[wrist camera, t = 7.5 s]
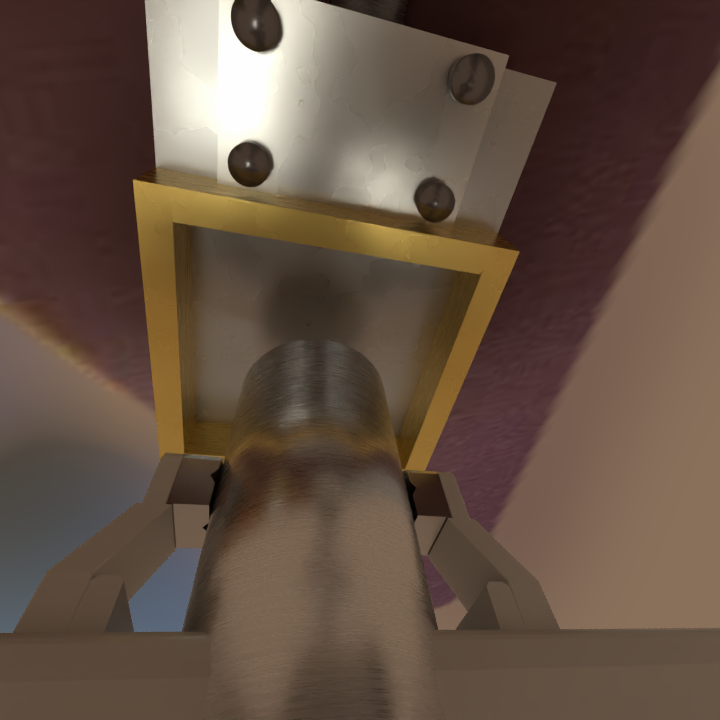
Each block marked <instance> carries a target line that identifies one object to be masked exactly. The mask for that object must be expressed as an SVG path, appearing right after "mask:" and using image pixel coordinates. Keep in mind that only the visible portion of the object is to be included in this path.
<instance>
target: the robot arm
mask: <svg viewBox="0 0 720 720" xmlns="http://www.w3.org/2000/svg"><path fill="white" fill-rule="evenodd" d="M222 466H223V458H222V457H212V456H202V455H191V454H178V453H167V452H165V454H164V455H163V456H162V458H161V460H160V462H159V465H158V467H157V470H156V472H155V475H154V477H153V479H152V481H151V484H150V486H149V489H148V491H147V493H146V496H145V498H144V501H143V503H136V504H134V505H133V506H132V507H130V508H129V509H128V510H127V511H126V512H124V513H123V514H121V515H120V516H119V517H117V518H116V519H115V520H114V521H112V522H111V523H110V524H108V525H107V526H106V527H104V528H103V529H102V530H100V531H99V532H98V533H97V534H95V535H94V536H93V537H91V538H90V539H89V540H87V541H86V542H85V543H84V544H82V545H81V546H80V547H78V548H77V549H76V550H74V551H73V552H72V553H70V554H69V555H68V556H67V557H65V558H64V559H63V560H61V561H60V562H59V563H58V564H56V565H55V566H54V567H52V568H51V569H50V570H48V571H47V572H46V575H45V576H44V578H43V580H42V581H41V583H40V585H39V587H38V588H37V590H36V592H35V594H34V596H33V597H32V599H31V601H30V603H29V605H28V606H27V608H26V610H25V612H24V613H23V615H22V617H21V619H20V621H19V623H18V624H17V626H16V628H15V630H14V631H13V633H0V720H202V718H203V713H204V708H205V703H206V698H207V693H208V688H209V682H210V677H211V670H210V658H211V639H210V636H209V635H208V634H207V633H205V632H134V629H133V624H132V619H131V614H130V609H129V604H128V601H129V600H130V599H131V598H132V597H133V595H134V594H135V593H136V592H137V591H138V590H139V589H140V588H141V587H142V586H143V585H144V583H145V582H146V581H147V580H148V579H149V578H150V577H151V576H152V575H153V574H154V572H156V570H157V569H158V568H159V567H160V566H161V565H162V564H163V562H165V561H166V559H167V558H168V557H169V556H170V555H171V554H172V553H173V552H174V551H175V548H202V547H203V543H204V539H205V535H206V531H207V527H208V523H209V519H210V515H211V511H212V507H213V503H214V499H215V494H216V490H217V486H218V482H219V478H220V474H221V470H222ZM403 475H404V480H405V484H406V489H407V493H408V498H409V502H410V507H411V511H412V515H413V520H414V524H415V529H416V533H417V538H418V542H419V547H420V551H421V555H429V556H428V558H429V559H430V561H431V562H432V563H433V565H434V566H435V567H436V569H437V570H438V572H439V573H440V574H441V576H442V577H443V578H444V580H445V581H446V582H447V584H448V585H449V587H450V588H451V589H452V591H453V592H454V593H455V595H456V596H457V598H458V599H459V600H460V602H461V603H462V604H463V606H464V607H465V608H466V610H467V611H468V612H467V614H466V615H465V617H464V618H463V619H462V621H461V622H460V624H459V625H458V627H457V628H456V630H433V631H432V634H431V642H432V649H433V658H434V670H435V675H436V680H437V685H438V689H439V694H440V699H441V703H442V708H443V713H444V717H445V720H720V628H672V629H671V628H670V629H668V628H667V629H666V628H664V629H663V628H660V629H560V628H559V626H558V624H557V621H556V619H555V618H554V615H553V613H552V610H551V608H550V606H549V604H548V601H547V599H546V597H545V595H544V592H543V590H542V588H541V586H540V583H539V581H538V580H537V579H536V578H534V576H533V575H532V574H531V573H530V572H528V571H527V570H526V569H525V568H524V567H523V566H522V565H521V564H520V563H519V562H518V561H517V560H516V559H515V558H514V557H513V556H512V555H511V554H510V553H509V552H508V551H507V550H506V549H505V548H504V547H503V546H502V545H500V543H498V542H497V541H496V540H495V539H494V538H493V537H492V536H491V535H490V534H489V533H488V532H487V531H486V530H485V529H484V528H483V527H482V526H481V525H480V524H479V523H478V522H477V521H476V520H475V519H470V518H469V515H468V512H467V510H466V507H465V504H464V501H463V499H462V496H461V493H460V490H459V488H458V485H457V482H456V479H455V477H454V475H453V474H452V473H447V472H434V471H417V470H404V471H403Z"/></svg>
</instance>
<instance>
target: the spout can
mask: <svg viewBox="0 0 720 720" xmlns="http://www.w3.org/2000/svg"><path fill="white" fill-rule="evenodd" d="M433 630H438V627H437V623H436V618H435V614H434V609H433V604H432V600H431V596H430V591H429V587H428V582H427V578H426V573H425V569H424V564H423V560H422V556H421V551H420V547H419V542H418V538H417V533H416V529H415V524H414V520H413V515H412V511H411V507H410V502H409V498H408V493H407V489H406V484H405V480H404V475H403V471H402V466H401V462H400V458H399V453H398V449H397V444H396V440H395V435H394V431H393V426H392V422H391V417H390V413H389V409H388V404H387V400H386V395H385V391H384V386H383V383H382V379H381V377H380V375H379V373H378V371H377V369H376V368H375V366H374V365H373V364H372V363H371V362H370V361H369V360H368V359H367V358H366V357H365V356H364V355H362V354H361V353H360V352H358V351H356V350H355V349H353V348H351V347H349V346H346V345H344V344H341V343H338V342H334V341H328V340H320V339H305V340H298V341H293V342H289V343H286V344H283V345H280V346H278V347H275V348H274V349H272V350H270V351H268V352H267V353H265V354H264V355H263V356H261V357H260V358H259V359H258V360H257V361H256V362H255V363H254V364H253V365H252V367H251V368H250V369H249V371H248V372H247V374H246V376H245V379H244V382H243V385H242V389H241V393H240V397H239V401H238V405H237V409H236V413H235V417H234V421H233V425H232V429H231V433H230V437H229V441H228V445H227V450H226V454H225V458H224V462H223V466H222V470H221V474H220V478H219V482H218V486H217V490H216V494H215V499H214V503H213V507H212V511H211V515H210V519H209V523H208V527H207V531H206V535H205V539H204V543H203V547H202V551H201V555H200V559H199V563H198V567H197V572H196V575H195V580H194V584H193V588H192V592H191V596H190V600H189V604H188V608H187V612H186V616H185V620H184V624H183V628H182V632H205V633H207V634H208V635H209V636H210V639H211V658H210V670H211V677H210V682H209V688H208V693H207V698H206V703H205V708H204V713H203V718H202V720H445V717H444V713H443V708H442V703H441V699H440V694H439V689H438V685H437V680H436V675H435V670H434V658H433V649H432V642H431V634H432V631H433Z"/></svg>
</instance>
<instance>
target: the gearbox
mask: <svg viewBox="0 0 720 720" xmlns="http://www.w3.org/2000/svg"><path fill="white" fill-rule="evenodd" d="M408 1H409V0H330V4H326V3H323V2H319V1H316V0H145V9H146V24H147V39H148V54H149V68H150V83H151V98H152V113H153V128H154V143H155V158H156V167H155V168H154V169H152V170H150V171H148V172H146V173H144V174H142V175H141V176H139V177H137V178H135V179H133V187H134V197H135V207H136V217H137V227H138V238H139V248H140V258H141V268H142V278H143V289H144V299H145V309H146V319H147V329H148V339H149V350H150V360H151V370H152V380H153V390H154V401H155V411H156V421H157V431H158V441H159V451H160V460H161V458H162V456H163V455H164V454H165V452H167V453H178V454H191V455H202V456H212V457H222V458H223V462H224V458H225V454H226V450H227V445H228V441H229V437H230V433H231V429H232V425H233V421H234V417H235V413H236V409H237V405H238V401H239V397H240V393H241V389H242V385H243V382H244V379H245V376H246V374H247V372H248V371H249V369H250V368H251V367H252V365H253V364H254V363H255V362H256V361H257V360H258V359H259V358H260V357H261V356H263V355H264V354H265V353H267V352H268V351H270V350H272V349H274V348H275V347H278V346H280V345H283V344H286V343H289V342H293V341H298V340H305V339H320V340H328V341H334V342H338V343H341V344H344V345H346V346H349V347H351V348H353V349H355V350H356V351H358V352H360V353H361V354H362V355H364V356H365V357H366V358H367V359H368V360H369V361H370V362H371V363H372V364H373V365H374V366H375V368H376V369H377V371H378V373H379V375H380V377H381V379H382V383H383V386H384V391H385V395H386V400H387V404H388V409H389V413H390V417H391V422H392V426H393V431H394V435H395V440H396V444H397V449H398V453H399V458H400V462H401V466H402V471H404V470H417V471H425V469H426V467H427V465H428V462H429V460H430V458H431V455H432V453H433V451H434V448H435V446H436V444H437V442H438V439H439V437H440V435H441V432H442V430H443V428H444V425H445V423H446V421H447V418H448V416H449V414H450V412H451V409H452V407H453V405H454V402H455V400H456V398H457V395H458V393H459V391H460V388H461V386H462V384H463V382H464V379H465V377H466V375H467V372H468V370H469V368H470V365H471V363H472V361H473V358H474V356H475V354H476V351H477V349H478V347H479V345H480V342H481V340H482V338H483V335H484V333H485V331H486V328H487V326H488V324H489V321H490V319H491V317H492V315H493V312H494V310H495V308H496V305H497V303H498V301H499V298H500V296H501V294H502V291H503V289H504V287H505V285H506V282H507V280H508V278H509V275H510V273H511V271H512V268H513V266H514V264H515V261H516V259H517V257H518V255H519V252H520V251H519V250H517V249H516V248H515V247H514V246H513V245H512V244H510V243H509V242H508V241H507V240H506V239H504V238H503V237H502V236H501V235H500V234H498V232H499V229H500V226H501V224H502V221H503V219H504V216H505V214H506V211H507V209H508V206H509V203H510V201H511V198H512V196H513V193H514V191H515V188H516V186H517V183H518V181H519V178H520V175H521V173H522V170H523V168H524V165H525V163H526V160H527V158H528V155H529V153H530V150H531V147H532V145H533V142H534V140H535V137H536V135H537V132H538V130H539V127H540V124H541V122H542V119H543V117H544V114H545V112H546V109H547V107H548V104H549V102H550V99H551V96H552V94H553V91H554V89H555V86H556V84H557V83H556V82H553V81H549V80H545V79H542V78H538V77H535V76H531V75H527V74H524V73H520V72H516V71H513V70H509V69H506V68H505V67H506V64H507V61H508V58H509V55H506V54H503V53H499V52H496V51H492V50H489V49H485V48H482V47H478V46H475V45H471V44H468V43H464V42H460V41H457V40H453V39H450V38H446V37H443V36H439V35H436V34H432V33H429V32H425V31H422V30H418V29H415V28H411V27H408V26H404V20H405V16H406V11H407V6H408Z"/></svg>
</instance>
